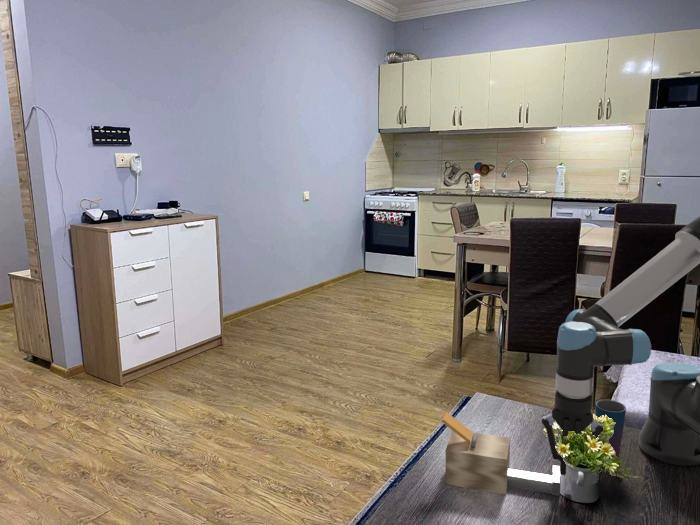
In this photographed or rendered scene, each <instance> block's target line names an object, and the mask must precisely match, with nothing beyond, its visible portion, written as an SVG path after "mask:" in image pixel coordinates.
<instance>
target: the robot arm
mask: <svg viewBox="0 0 700 525" xmlns="http://www.w3.org/2000/svg"><path fill="white" fill-rule="evenodd" d="M674 238H675V239H674V240H672V241H671V243H669V244H668V245H667V246H666V247H664V248H663V249H662V250H660V251H659V252H658V253H657V254H656V255H655V256H653V257H652V258H651V259H649V260H648V261H647V262H645V263H644V264H643V265H642V266H641V267H638V269H637V270H635V271H634V272H633V273H632V274H631V275H629V276H628V277H627V278H625V279H624V280H623V281H622V282H621V283H619V284H618V285H616V287H614V288H613V289H612V290H610V291H609V292H608V293H606V294H605V295H604V296H603V297H601V298H600V299H598V301H596V302H595V303H594V304H592V306H590V307H588V308H587V309H583V308H579V309H574V310H572V311H571V312H569V314H568V315H567V317H566V319H565V322H563V323H561V325H559V328H558V333H557V340H556V368H555V369H556V372H555V385H554V386H555V388H554V389H555V392H554V405H553V406H554V408H553V409H552V411H551V413H549V414H547V415H546V414H543V415H542V416H541V423H542V425H543V427H544V428H545V430H546V434H547V438H548V442H549V446H550V452H551V455H552V459H554V460H558V461H559V463H560V464H559V466H560V476H565V474H566V479H565V478H564V491H567V490H566V487H567V485H568V479H569V477H568V476H569V471H568V470H569V468H568V466H567V464H565V462H564V461H563V458H562V457H561V456H560V455H559V454H558V452H559V451H558V452H557V451H556V449H555V445H556V444H557V440H556V437H555V433H554V421H555V422H556V424H557V425H558V426H559V428H560V429H561V440H562V439H563V437H564V436H568V437H569V432H568V431H575V433H576V434H578V433H580V434H581V435H582V432H584V431H585V430H586V429H587V428H588V427H590V431H591V430H592V431H593V432H592V435H595V436H596V438H597V437H598V435H599V434H600V433H601V432H602V431H603V425H602V423H601V422H597V421H596V419H594V416H593V414H592V400H593V398H592V397H593V396H592V393H593V388H594V387H593V383H594V381H593V380H594V370H595V367H606V366H607V367H608V366H625V365H628V366H632V365H636V364H637V365H638V364H643V363H646V362H647V361H648V360H649V359H650V357H651V354H652V352H651V351H652V344H651V340H650V338H649V336H648V334H646V332H645V331H643V330H642V329H637V328H628V329H622V328H620V326H622V325H623V324H624V323H625V322H627V321H628V320H629V319H631V318H632V317H633V316H634V315H636V314H637V313H638V312H640V311H641V310H642V309H644V308H645V307H646V306H647V305H648V304H650V303H652V301H653V300H655V299H656V298H658V297H659V295H661V294H663V293H664V292H665V291H666V290H668V289H669V288H670V287H672V286H673V285H674V284H675V283H677V282H678V281H679V280H680V279H681V278H683V277H684V276H686V275H687V274H688V273H689V272H691V271H692V270H693V269H694V268H696V267H697V266H698V265H700V216H698V217H696V218H694V220H692V221H690V222H689V223H687V224H686V225H685V226H683V227H682V228H681V229H680V230H679V231H677V232H676V233H675V237H674ZM648 402H649V404H648V415H647V416H648V417H647V418H646V420H645V422H644V425H643V426H642V428H641V430H640V432H639V435H638V447H639V448H640V449H641V450H642V451H643V453H645V454H646V455H648V456H649V457H652V458H653V459H656V460H658V461H659V462H660V461H661V462H663V463H667V464H669V465H670V464H671V465H675V466H676V465H677V466H683V467H685V466H686V467H693V466H698V465H700V366H698V365H695V364H690V363H682V362H663V363H659V364H657V365H655V366H653V368H652V370H651V375H650V386H649V400H648ZM562 430H563V431H562ZM581 431H582V432H581ZM555 440H556V441H555Z"/></svg>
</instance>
